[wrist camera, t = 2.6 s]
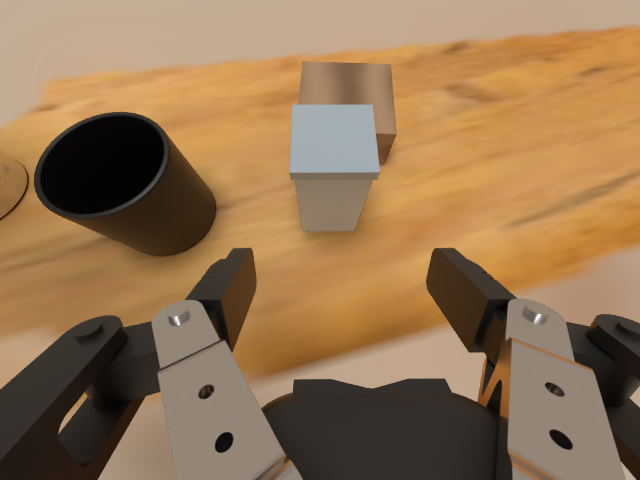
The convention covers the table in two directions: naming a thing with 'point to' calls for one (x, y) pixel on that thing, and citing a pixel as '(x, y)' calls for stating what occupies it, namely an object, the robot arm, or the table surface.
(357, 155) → the grey lidded pillar
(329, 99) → the walnut block
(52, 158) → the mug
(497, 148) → the table surface
